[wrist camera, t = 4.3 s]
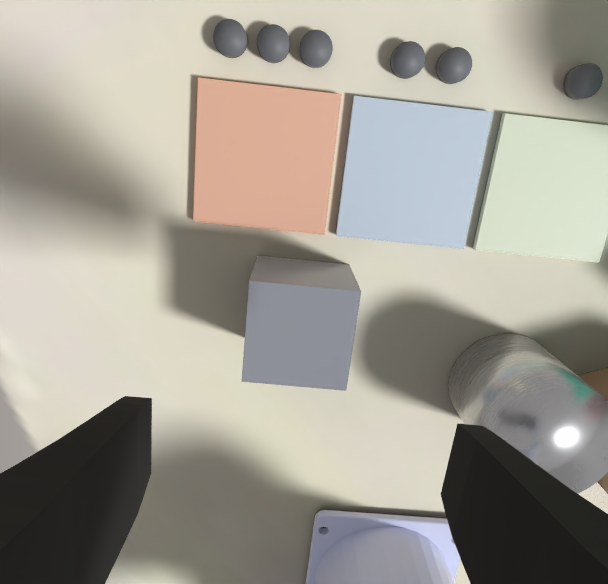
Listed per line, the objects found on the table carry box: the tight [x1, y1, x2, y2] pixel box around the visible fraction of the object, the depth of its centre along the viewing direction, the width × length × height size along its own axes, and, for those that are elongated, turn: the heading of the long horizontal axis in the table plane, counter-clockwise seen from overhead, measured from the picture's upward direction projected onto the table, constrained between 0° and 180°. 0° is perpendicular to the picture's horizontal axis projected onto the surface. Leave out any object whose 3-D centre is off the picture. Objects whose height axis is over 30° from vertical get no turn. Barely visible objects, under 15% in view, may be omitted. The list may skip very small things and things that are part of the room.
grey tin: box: [448, 333, 608, 493], centre depth 20 cm, size 5×5×5 cm
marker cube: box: [242, 255, 361, 390], centre depth 19 cm, size 4×4×4 cm
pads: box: [193, 19, 608, 263], centre depth 19 cm, size 8×18×1 cm, turn 84°
